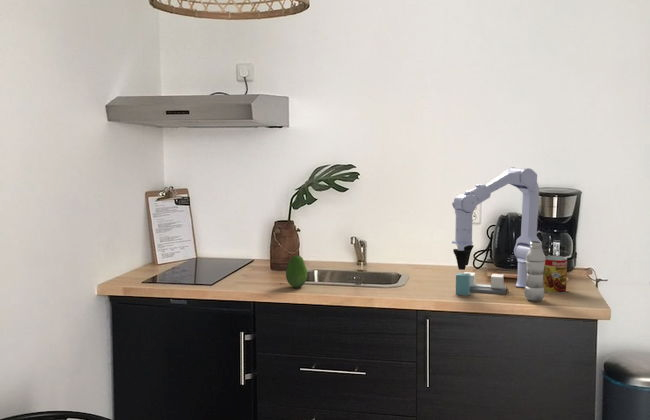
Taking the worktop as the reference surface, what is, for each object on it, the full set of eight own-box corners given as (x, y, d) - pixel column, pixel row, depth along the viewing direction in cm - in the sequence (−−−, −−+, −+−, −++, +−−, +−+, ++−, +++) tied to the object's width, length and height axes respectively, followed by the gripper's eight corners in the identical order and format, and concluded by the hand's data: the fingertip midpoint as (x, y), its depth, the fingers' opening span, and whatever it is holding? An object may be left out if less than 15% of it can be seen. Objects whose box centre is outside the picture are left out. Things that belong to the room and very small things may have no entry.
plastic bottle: (539, 297, 215) (541, 240, 213) (547, 302, 209) (549, 243, 206) (521, 298, 215) (522, 240, 213) (528, 303, 208) (530, 243, 206)
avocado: (310, 285, 236) (309, 254, 235) (302, 290, 229) (302, 258, 228) (290, 284, 239) (290, 253, 238) (282, 288, 232) (281, 256, 230)
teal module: (470, 292, 223) (470, 273, 222) (468, 295, 219) (469, 275, 218) (457, 291, 224) (457, 272, 224) (455, 294, 221) (456, 275, 220)
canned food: (557, 294, 219) (558, 260, 218) (538, 290, 225) (539, 257, 224) (570, 291, 224) (571, 258, 222) (551, 287, 230) (552, 254, 229)
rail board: (506, 288, 229) (507, 273, 228) (504, 294, 220) (505, 278, 220) (462, 285, 234) (462, 270, 234) (458, 290, 226) (458, 275, 225)
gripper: (455, 225, 227) (454, 262, 229) (449, 231, 214) (448, 270, 215) (475, 226, 225) (474, 263, 227) (470, 232, 211) (469, 272, 213)
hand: (463, 267), depth 221 cm, fingers open, 7 cm apart
